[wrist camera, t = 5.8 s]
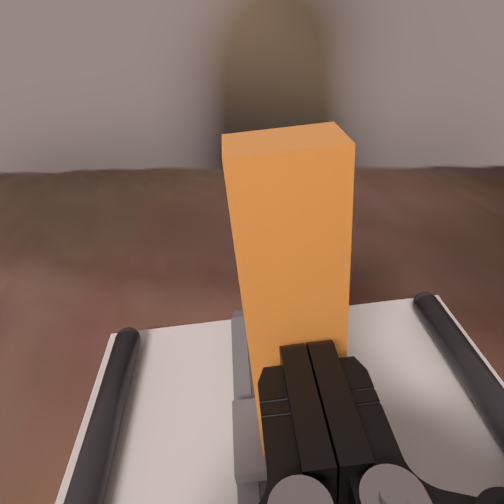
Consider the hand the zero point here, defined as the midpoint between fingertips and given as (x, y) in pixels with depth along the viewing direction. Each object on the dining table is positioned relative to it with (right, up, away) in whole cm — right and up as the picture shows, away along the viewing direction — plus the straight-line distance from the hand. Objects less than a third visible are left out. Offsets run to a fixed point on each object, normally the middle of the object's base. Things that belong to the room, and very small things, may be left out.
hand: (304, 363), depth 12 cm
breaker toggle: (0, -4, +5) cm, 6 cm away
